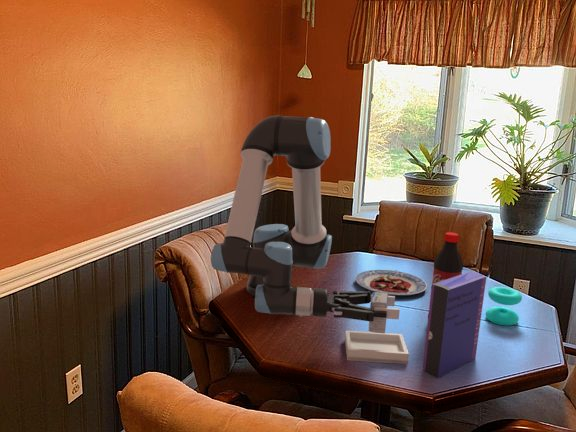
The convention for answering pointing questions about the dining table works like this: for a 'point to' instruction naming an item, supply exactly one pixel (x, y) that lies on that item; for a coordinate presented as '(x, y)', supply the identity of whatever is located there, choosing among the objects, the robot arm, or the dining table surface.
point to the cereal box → (453, 323)
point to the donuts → (502, 313)
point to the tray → (376, 347)
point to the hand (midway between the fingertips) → (396, 307)
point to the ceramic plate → (391, 282)
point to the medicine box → (382, 302)
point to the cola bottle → (448, 260)
